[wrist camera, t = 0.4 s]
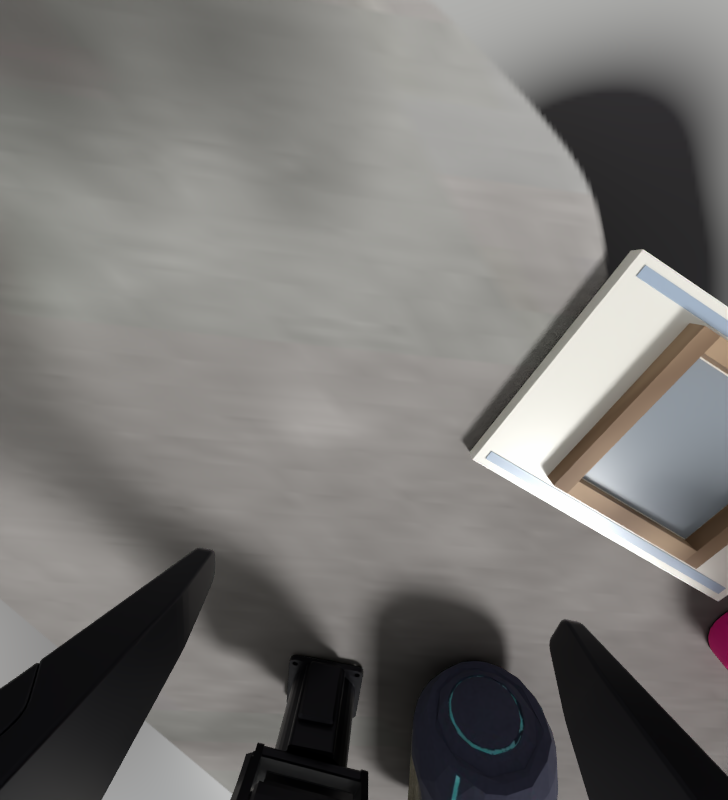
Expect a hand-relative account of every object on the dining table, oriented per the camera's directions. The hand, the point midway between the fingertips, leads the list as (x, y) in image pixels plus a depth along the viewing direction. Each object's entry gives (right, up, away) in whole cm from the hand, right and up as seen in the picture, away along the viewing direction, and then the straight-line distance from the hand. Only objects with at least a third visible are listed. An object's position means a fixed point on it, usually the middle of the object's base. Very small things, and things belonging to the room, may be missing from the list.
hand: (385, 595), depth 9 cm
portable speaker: (+9, -26, +24) cm, 37 cm away
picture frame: (+18, +2, +13) cm, 23 cm away
